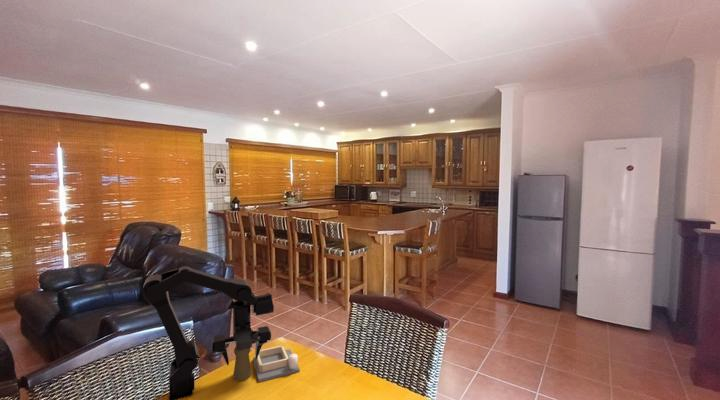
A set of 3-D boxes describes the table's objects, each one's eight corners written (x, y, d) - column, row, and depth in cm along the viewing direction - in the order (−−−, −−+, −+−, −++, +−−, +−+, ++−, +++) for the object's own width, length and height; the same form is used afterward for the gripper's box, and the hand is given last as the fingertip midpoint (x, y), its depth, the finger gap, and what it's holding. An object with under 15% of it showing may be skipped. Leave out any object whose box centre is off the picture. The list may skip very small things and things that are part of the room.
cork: (248, 381, 108) (247, 350, 107) (230, 380, 108) (229, 349, 107) (254, 370, 114) (254, 340, 113) (237, 369, 114) (237, 340, 113)
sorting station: (258, 382, 108) (258, 368, 107) (252, 360, 120) (252, 347, 120) (299, 371, 114) (299, 358, 113) (290, 351, 126) (290, 339, 126)
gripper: (212, 334, 98) (213, 382, 99) (274, 323, 106) (274, 367, 108) (211, 319, 108) (212, 363, 109) (268, 309, 116) (268, 351, 118)
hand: (242, 361), depth 111 cm, fingers open, 9 cm apart
